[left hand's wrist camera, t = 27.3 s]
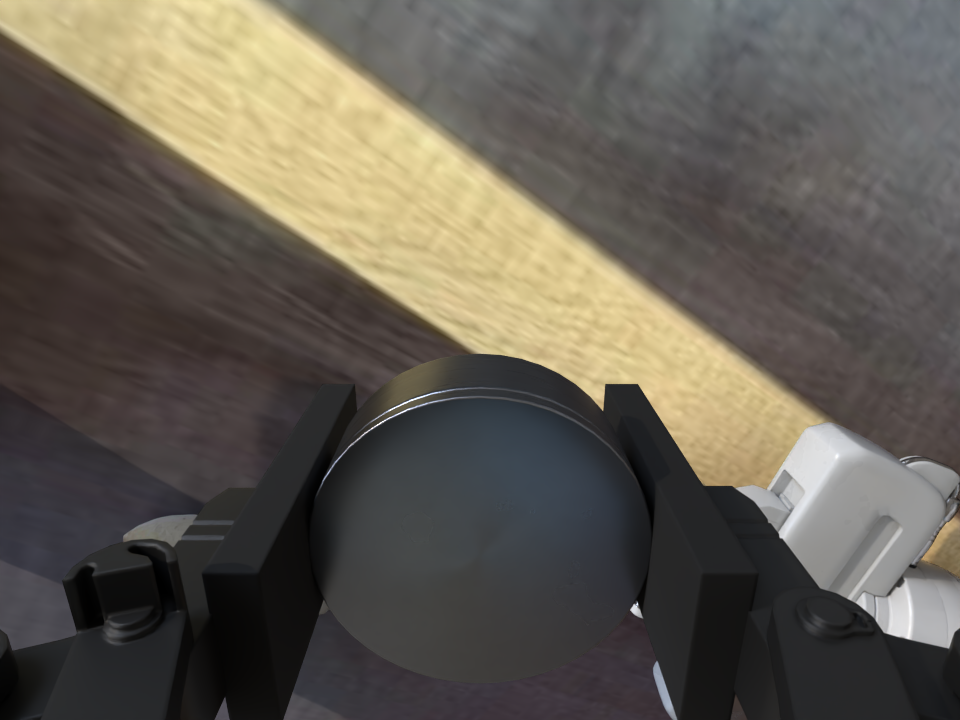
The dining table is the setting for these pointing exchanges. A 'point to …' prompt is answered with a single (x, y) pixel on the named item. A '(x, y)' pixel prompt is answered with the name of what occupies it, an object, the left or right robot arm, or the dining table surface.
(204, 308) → the dining table surface
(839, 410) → the dining table surface
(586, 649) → the lid
